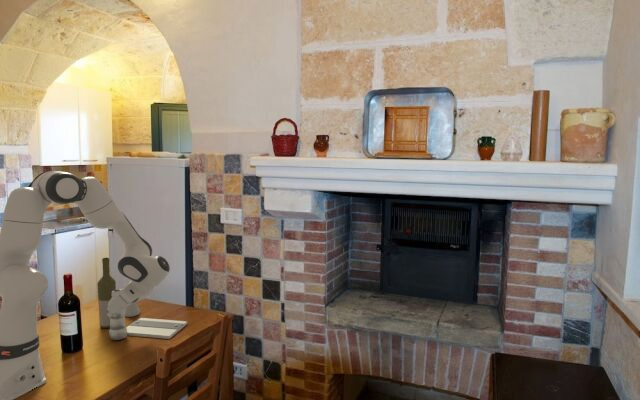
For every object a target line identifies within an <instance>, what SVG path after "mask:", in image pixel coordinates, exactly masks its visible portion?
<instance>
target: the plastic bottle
mask: <svg viewBox="0 0 640 400" xmlns="http://www.w3.org/2000/svg"><path fill="white" fill-rule="evenodd" d="M120 290H121V289H116V290H113V291H112V295H111V296H112V298H111V299H110V301H109V303H108V305H109V304H110V303H111V302H112V301H113V300H114V298H115V297H116V296H117V295H118V294H119V291H120ZM126 327H127V325H126V316H125V308H124V309H122V310H121V311H119V312H117V313H115V314H114V315H113V316H111V317H110V328H109V331H108V336H109V338H110V339H111V340H112V341H120V340H123V339H126V338H127V336H128V335H127V328H126Z"/></svg>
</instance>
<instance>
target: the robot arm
mask: <svg viewBox="0 0 640 400" xmlns="http://www.w3.org/2000/svg"><path fill="white" fill-rule="evenodd" d="M72 203H73V204H75V205H77V206H78V208H79V210H80V212H81V213H82V215H83V217H84V218H85V219H86V221H87V222H88V224H90V225H91V226H92V227H93V228H95V229H101V230H102V229H109V228H110V229H112V230H114V232H115V233H116V234H117V236H118V237H119V238H120V240H121V241H122V243H123V244H124V251H123V253H122V254H121V257H120V259H119V261H118V263H117V270H118V272H119V274H121V275H122V276H123V277H125V278H127V279H129V280H130V281H129V282H128V283H127V284H126V285H125V286H124V287H122V288H121V289H119V290H120V291H119V294H118V295H117V296H116V297H115V298H114V300H113V301H112V302H111V303H110V304H109V305H108V307H107V310H108V311H109V313H108V314H107V315H108V317H111V316H113V315H114V314H115V313H117V312H119V311H121V310H122V309H124V308H127V307H128V306H129V305H131V304H133V303H134V302H136V303H137V302H140V301H144V300H145V299H146V298H147V297H148V296H149V295H150V294H151V293H152V292H153V291H154V289H155V288H156V287H158V286H159V285H160V284H161V283H162V282H163V281H164V280H165V279H166V277H168V275H169V273H170V270H171V269H170V264H169V262H168V260H167V259H166V258H165V257H163V256H161V255H159V256H153V248H152V246H151V244H150V243H149V242H148V241H147V240H146V239H144V238H143V237H141V235H140V234H139V233H138V232H137V230H136V229H135V228H134V226H133V224H132V223H131V221H130V220H129V219H128V218H127V216H126V215H125V214H124V213H123V212H122V210H121V209H120V208H119V206H117V204H116V202H115V201H114V199H113V197H112V196H111V195H110V192H109V191H108V190H107V188H106V187H105V186H104V184H103V183H101V182H100V180H99V179H98V178H97V177H94V176H85V177H82V178H80V177H77V176H76V175H75V174H73V173H70V172H67V171H62V170H50V171H43V172H41V173H39V174H38V175H37V176H35V178H34V179H33V180H32V181H31V182H30V183H29V185H28V186H23V187H18V188H14V189H13V190H11V192H10V194H9V196H8V197H7V201H6V203H5V207H4V210H3V211H4V212H3V215H2V221H1V226H0V227H1V228H0V297H1V308H0V400H16V399H18V398H19V397H21V396H23V395H25V394H27V393H29V392H30V391H32V389H33V390H35V389H36V387H37V388H39V387H41V386H42V385H44V384H46V383H47V378H46V373H45V371H44V368H43V362H42V357H41V354H40V350H39V347H40V337H39V336H40V335H39V334H38V323H37V320H38V319H37V315H38V308H39V307H38V306H39V304H40V301H41V298H42V297H43V296H44V295H45V294H46V292H47V290H48V287H49V281H48V278H47V276H46V275H45V274H44V273H42V272H41V270H38V269H37V268H34V267H31V266H29V263H30V260H31V258H32V255H33V254H34V252H35V251H37V250H38V249H39V247H40V245H41V239H42V233H43V226H44V218H45V213H46V211H47V208H48V207H49V206H50V205H51V204H54V205H68V204H72ZM34 388H35V389H34Z"/></svg>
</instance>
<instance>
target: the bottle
mask: <svg viewBox="0 0 640 400" xmlns="http://www.w3.org/2000/svg"><path fill="white" fill-rule="evenodd" d="M101 262H102V277H100V279H99V280H98V281H97V285H96V286H97V299H98V300H97V302H98V304H97V305H98V320H99V321H98V323H99V326H100V328H102V329H110V317H108V315H107V314H108V313H109V311H108V310H107V307H108V303H109V301H110V299H111V298H112V296H111V295H112V291H113V290H117V289H116V285H117V284H116V283H117V282H116V280H115V279H114V278H113V277H112V276H111V273H110V258H109V257H103V258H102V260H101Z"/></svg>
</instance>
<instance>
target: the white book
mask: <svg viewBox="0 0 640 400" xmlns="http://www.w3.org/2000/svg"><path fill="white" fill-rule="evenodd" d="M186 325H188V321H187V320H186V321H184V320H175V319H174V320H173V319H172V320H171V319H162V318H161V319H160V318H159V319H158V318H148V317H140V318H138V319H136V320H134V321H132V322H131V323H130V324H129V325H128V326H126V328H127V336H133V337H145V338H156V339H167V340H170V339H171V338H172V337H173V336H175V335H176V334H177V333H178V332H180V331H181V330H182V329H183V328H184V327H186Z"/></svg>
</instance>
